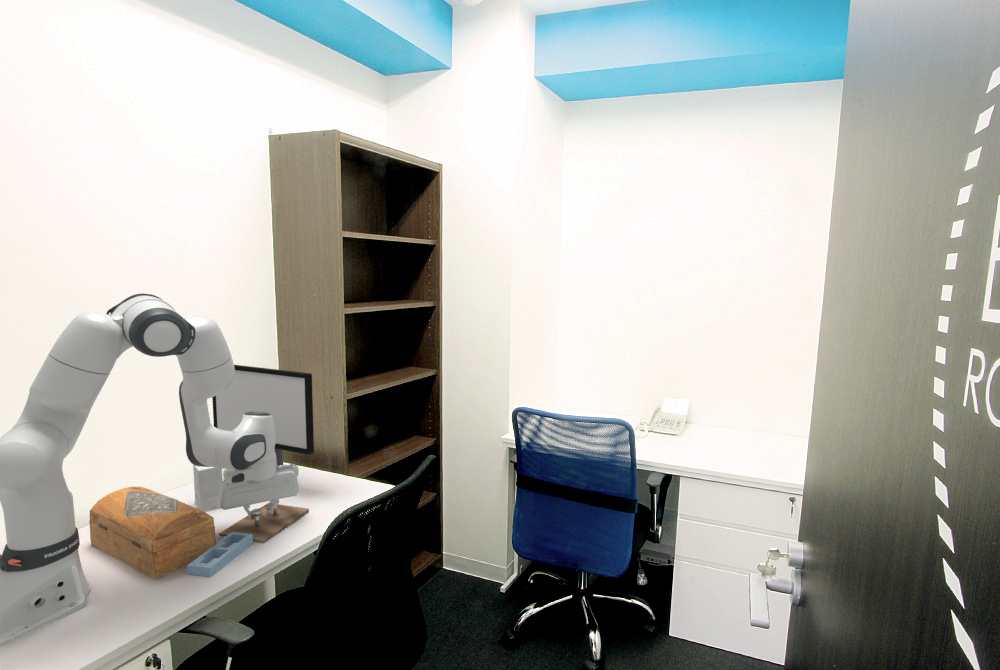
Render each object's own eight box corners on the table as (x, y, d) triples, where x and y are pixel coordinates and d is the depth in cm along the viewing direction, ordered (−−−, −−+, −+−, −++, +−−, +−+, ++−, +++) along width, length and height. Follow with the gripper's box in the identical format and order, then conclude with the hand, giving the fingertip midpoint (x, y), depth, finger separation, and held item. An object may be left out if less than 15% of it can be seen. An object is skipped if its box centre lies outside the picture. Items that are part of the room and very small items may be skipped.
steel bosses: (257, 529, 150) (257, 513, 149) (249, 527, 150) (249, 511, 150) (281, 513, 159) (281, 498, 159) (273, 512, 160) (273, 497, 159)
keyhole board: (263, 544, 143) (263, 540, 143) (219, 536, 147) (219, 533, 147) (308, 511, 163) (308, 508, 163) (268, 505, 166) (268, 502, 166)
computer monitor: (210, 481, 184) (204, 364, 179) (231, 473, 192) (226, 360, 187) (306, 503, 168) (302, 375, 163) (324, 493, 176) (321, 371, 171)
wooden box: (221, 554, 139) (219, 502, 137) (153, 586, 125) (149, 528, 123) (158, 524, 154) (154, 476, 152) (90, 549, 140) (86, 497, 138)
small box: (224, 507, 165) (222, 466, 163) (200, 513, 161) (198, 470, 159) (217, 498, 171) (215, 458, 169) (194, 504, 167) (192, 462, 165)
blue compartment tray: (253, 544, 143) (252, 533, 143) (211, 580, 127) (210, 567, 127) (232, 542, 144) (231, 531, 144) (187, 577, 128) (186, 565, 127)
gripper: (295, 458, 159) (296, 504, 161) (217, 471, 148) (219, 520, 150) (301, 465, 154) (302, 512, 156) (220, 479, 143) (222, 530, 144)
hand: (260, 516), depth 153 cm, fingers open, 3 cm apart
